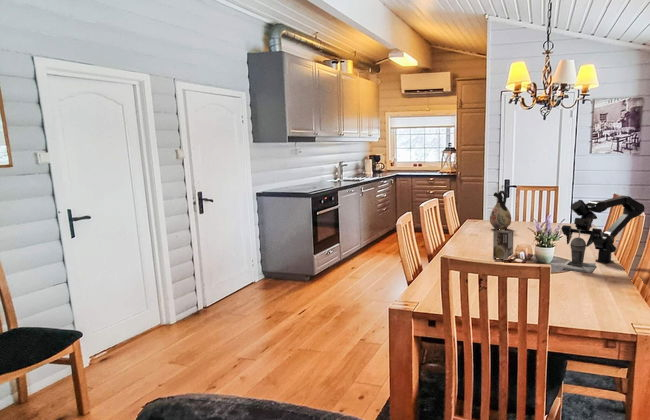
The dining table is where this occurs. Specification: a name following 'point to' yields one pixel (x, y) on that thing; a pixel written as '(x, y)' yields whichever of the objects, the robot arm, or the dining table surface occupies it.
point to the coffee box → (502, 244)
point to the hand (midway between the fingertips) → (576, 245)
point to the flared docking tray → (578, 267)
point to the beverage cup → (578, 251)
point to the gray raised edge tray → (584, 267)
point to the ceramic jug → (500, 212)
